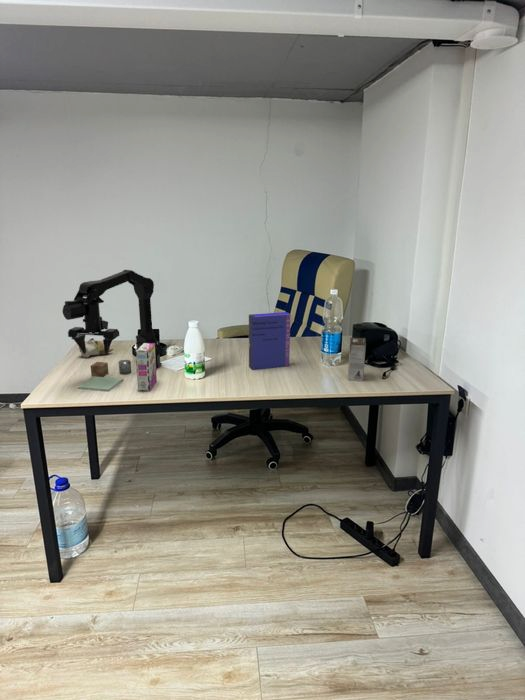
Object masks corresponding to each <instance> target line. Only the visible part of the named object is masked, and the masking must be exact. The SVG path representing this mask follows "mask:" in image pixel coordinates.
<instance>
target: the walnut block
mask: <svg viewBox="0 0 525 700" xmlns="http://www.w3.org/2000/svg"><path fill="white" fill-rule="evenodd" d="M109 372H110V371H109V364H108V362H105V361H103V362H102V361H96V362H94V363H93V364H91V365H90V374H91V378H92V377H94V376H96V377H106V376H107V375H109V374H110V373H109Z"/></svg>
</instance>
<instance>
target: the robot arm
mask: <svg viewBox="0 0 525 700" xmlns="http://www.w3.org/2000/svg"><path fill="white" fill-rule="evenodd" d="M127 282H128V283H129V284H130V285H132V286H133V289H134V290H133V291H134V293H135V295H136V296H137V299H138V313H139V325H140V326H139V328H140V330H139V331H140V332H139V334H136V335H135V339H136V340H135V345H137V349H138V348H139V347H140V346H141V345H142V344H143V343H155V356H156V369H158V368H159V367H161V366H162V365H161V364H163V363H162V362H161V356H160V355H161V354H163V351H164V349H163V348H162V346H160V345H159V344H158V341H157V337H156V335H155V333H154V331H153V323H152V321H153V319H152V318H153V317H152V307H151V304H152V303H151V298H152V295H154V287H155V283H154V281H153V279H152V278H150V277H145V276H143V275H141V274H139V273H137V272H136V271H133V270H131V269H123V270H122V271H119V272H118V273H114V274H112V275H110V276H107V277H104V278H102V279H99V280H90V281H89V280H88V281H84V282H82V283H80V284H79V287H78V290H77V292H76V295H75V296H74V299H73V300H65V301H64V304H63V307H62V314H63V317H64V318H65V320H67V321H69V320H76V319H80V318H82V323H84V327H85V328H84V327H82V326H74V327H73V328H70V329H68V331H67V337H69V338H71V340H73V341H74V342H75V343H76V344H77V346H78V348H79V347H80V349H81V350H82V352H83V353H84V354H85V353H86V346H85V344H86V341H85V339H86V336H101V337H103V338H104V339H102V341H103V342H102V343H103V346H104V350H105V354H104V355H105V356H108V355H109V353H110V352H109V349H111V348H110V347H111V344H112V341H113V340H115V339H116V338H118V337H120V331H119V330H118V328H109V321H107V320H103V317H102V316H101V313H100V312H101V310H100V304H102V303H105V300H104V299H102V298H101V296H102V295H104V294H105V293H106V292H107V290H110V289H112V288H115V287H117V286H120V285H122V284H125V283H127ZM108 352H109V353H108Z"/></svg>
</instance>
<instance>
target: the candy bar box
mask: <svg viewBox="0 0 525 700" xmlns="http://www.w3.org/2000/svg"><path fill="white" fill-rule="evenodd" d="M135 363H136V377H137V391H138V392H150V391H151V390H152V389H153V387H154V386H155V384H156V383H157V378H158V377H157V368H156V356H155V343H143V344H142V345H141V346H140V347H139V348H138V347H137V349H135Z"/></svg>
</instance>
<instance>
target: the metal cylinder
mask: <svg viewBox="0 0 525 700" xmlns="http://www.w3.org/2000/svg"><path fill="white" fill-rule="evenodd" d="M132 371H133V370H132V363H131V360H130V359H122V360H119V361H118V372H119V375H122V376H123V375H130V374H132Z"/></svg>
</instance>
